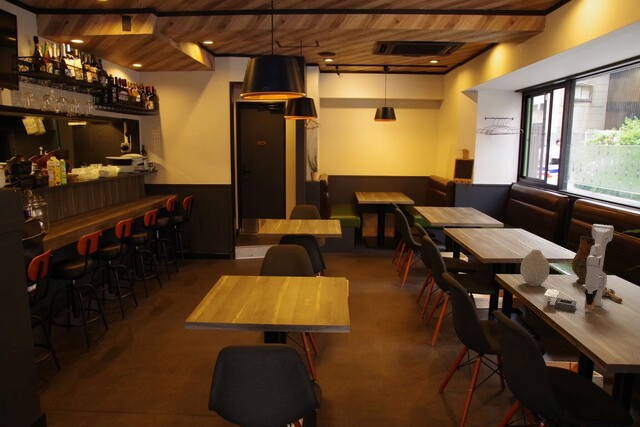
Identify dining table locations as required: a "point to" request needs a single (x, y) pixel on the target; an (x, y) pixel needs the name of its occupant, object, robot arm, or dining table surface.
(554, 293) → the beige block
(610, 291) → the kendama
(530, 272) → the vase
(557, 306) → the socket
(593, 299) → the peg
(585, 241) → the pitcher
